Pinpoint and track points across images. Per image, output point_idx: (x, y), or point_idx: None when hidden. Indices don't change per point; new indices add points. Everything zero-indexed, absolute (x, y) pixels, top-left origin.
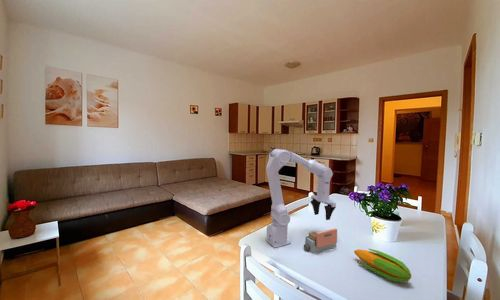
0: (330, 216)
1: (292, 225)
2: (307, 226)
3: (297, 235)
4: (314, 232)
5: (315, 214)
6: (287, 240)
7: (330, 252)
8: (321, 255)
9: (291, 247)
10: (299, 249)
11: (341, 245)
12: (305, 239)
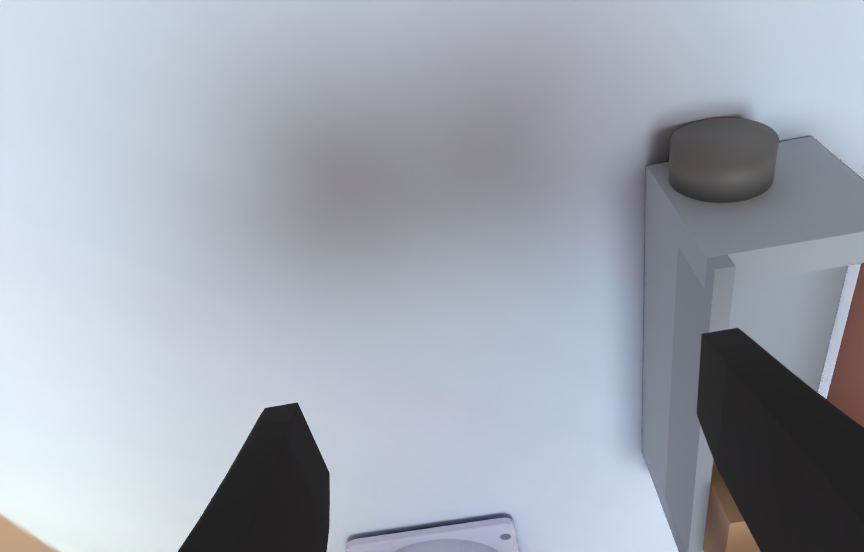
0: (797, 391)
1: (19, 360)
2: (39, 171)
3: (351, 413)
4: (748, 543)
5: (327, 480)
6: (465, 537)
7: (851, 281)
8: (828, 385)
9: (572, 527)
10: (633, 491)
11: (835, 24)
12: (675, 538)
